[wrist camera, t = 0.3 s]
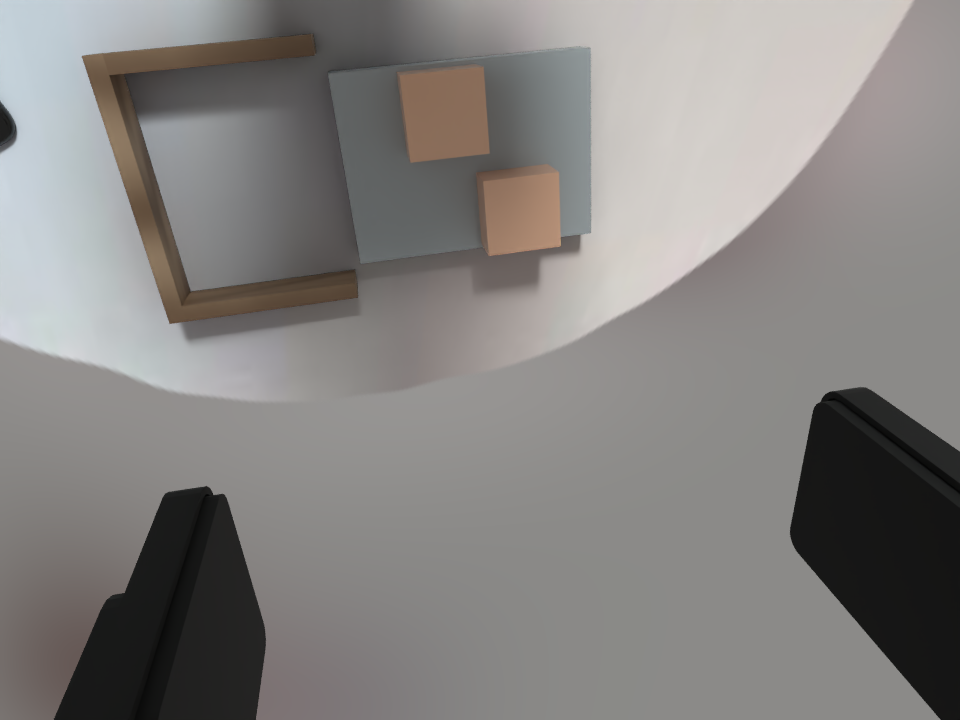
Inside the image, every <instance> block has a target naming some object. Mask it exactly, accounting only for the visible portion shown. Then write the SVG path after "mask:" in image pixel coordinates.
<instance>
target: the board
mask: <svg viewBox="0 0 960 720" xmlns="http://www.w3.org/2000/svg"><path fill="white" fill-rule="evenodd" d="M472 64H477V65H480V66H483V67H484V80H485V94H486V108H487V122H488V136H489V150H490V154H481V155H473V156H464V157H456V158H447V159H439V160H430V161H422V162H413V163H410V160H409V158H408V156H407V151H406V143H405V135H404V127H403V120H402V112H401V104H400V96H399V88H398V80H397V73H396V72H402V71H412V70H422V69H432V68H442V67H452V66H462V65H472ZM328 78H329V84H330V90H331V96H332V101H333V107H334V113H335V119H336V125H337V130H338V136H339V142H340V148H341V154H342V159H343V165H344V171H345V177H346V182H347V188H348V194H349V200H350V206H351V211H352V217H353V223H354V229H355V235H356V240H357V246H358V252H359V258H360V264H364V263H371V262H379V261H386V260H394V259H401V258H409V257H416V256H424V255H431V254H439V253H446V252H454V251H461V250H469V249H476V248H483V245H482V242H481V230H480V218H479V205H478V193H477V181H476V172H485V171H493V170H501V169H510V168H518V167H526V166H535V165H543V164H549V165H550V166H551V167H553V168H554V169H555V170H557V171H558V172H559V191H560V233H561V237H566V236H573V235H581V234H588V233H591V48H588V47H570V48H560V49H550V50H540V51H530V52H520V53H510V54H500V55H490V56H480V57H470V58H460V59H450V60H440V61H430V62H420V63H410V64H400V65H389V66H379V67H369V68H359V69H349V70H339V71H329V72H328Z"/></svg>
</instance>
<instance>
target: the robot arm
mask: <svg viewBox="0 0 960 720" xmlns="http://www.w3.org/2000/svg"><path fill="white" fill-rule="evenodd" d="M790 535H791V540H792V543H793V545H794V548H795V549H796V551H797V552H798V554H800V556H801V557H802V558H803V559H804V561H805V562H806V563H807V564H808V565H809V566H810V567H811V569H812V570H813V571H814V572H815V573H816V575H817V576H818V577H819V578H820V579H821V580H822V582H823V583H824V584H825V585H826V586H827V587H828V589H829V590H830V591H831V592H832V593H833V594H834V596H835V597H836V598H837V599H838V600H839V601H840V603H841V604H842V605H843V606H844V607H845V608H846V609H847V611H848V612H849V613H850V614H851V615H852V617H853V618H854V619H855V620H856V621H857V622H858V624H859V625H860V626H861V627H862V628H863V629H864V631H865V632H866V633H867V634H868V635H869V636H870V638H871V639H872V640H873V641H874V642H875V644H876V645H877V646H878V647H879V648H880V649H881V651H882V652H883V653H884V654H885V655H886V656H887V657H888V659H889V660H890V661H891V662H892V663H893V664H894V666H895V667H896V668H897V669H898V670H899V672H900V673H901V674H902V675H903V676H904V677H905V678H906V680H907V681H908V682H909V683H910V684H911V686H912V687H913V688H914V689H915V690H916V691H917V692H918V694H919V695H920V696H921V697H922V698H923V700H924V701H925V702H926V703H927V704H928V705H929V707H930V708H931V709H932V710H933V711H934V712H935V713H936V715H937V716H938V717H939V718H940V719H941V720H960V452H959V451H958V450H957V449H955V448H954V447H952V446H951V445H949V444H948V443H946V442H945V441H944V440H942V439H940V438H939V437H938V436H936V435H935V434H934V433H932V432H931V431H929V430H928V429H926V428H925V427H923V426H922V425H921V424H919V423H918V422H916V421H915V420H913V419H912V418H910V417H909V416H907V415H906V414H905V413H903V412H902V411H900V410H899V409H897V408H896V407H895V406H893V405H892V404H890V403H889V402H887V401H886V400H884V399H883V398H882V397H880V396H879V395H877V394H876V393H874V392H873V391H871V390H869V389H867V388H864V387H859V388H852V389H846V390H840V391H832V392H829V393H827V394H825V395H824V397H823V398H822V400H821V402H820V403H818V404H816V406H815V407H814V410H813V414H812V419H811V424H810V429H809V434H808V440H807V445H806V450H805V455H804V460H803V465H802V471H801V476H800V481H799V486H798V491H797V497H796V502H795V507H794V512H793V517H792V522H791V527H790ZM265 646H266V638H265V627H264V623H263V619H262V616H261V612H260V609H259V605H258V602H257V599H256V596H255V592H254V589H253V585H252V582H251V578H250V575H249V572H248V568H247V565H246V562H245V558H244V555H243V551H242V548H241V545H240V541H239V538H238V535H237V531H236V528H235V524H234V521H233V517H232V514H231V511H230V507H229V504H228V501H227V498H226V497H225V495H224V494H219V495H213V493H212V491H211V489H210V488H209V487H207V486H205V487H199V488H192V489H185V490H179V491H172V492H168V493H166V494H165V495H164V497H163V498H162V501H161V504H160V506H159V509H158V511H157V513H156V516H155V518H154V521H153V523H152V526H151V528H150V531H149V533H148V536H147V538H146V541H145V543H144V546H143V548H142V551H141V553H140V556H139V558H138V561H137V563H136V566H135V568H134V571H133V574H132V576H131V578H130V581H129V583H128V586H127V588H126V591H125V593H122V594H116V595H112V596H111V597H110V598H109V599H107V600H106V602H105V604H104V605H103V607H102V609H101V611H100V613H99V616H98V618H97V620H96V623H95V625H94V627H93V629H92V632H91V634H90V637H89V639H88V641H87V644H86V646H85V648H84V651H83V653H82V655H81V657H80V660H79V662H78V665H77V667H76V669H75V671H74V674H73V676H72V678H71V681H70V683H69V685H68V688H67V690H66V692H65V695H64V697H63V699H62V702H61V704H60V706H59V709H58V711H57V713H56V716H55V718H54V720H256V714H257V707H258V699H259V692H260V685H261V677H262V670H263V663H264V655H265Z"/></svg>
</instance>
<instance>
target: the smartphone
mask: <svg viewBox="0 0 960 720" xmlns="http://www.w3.org/2000/svg"><path fill="white" fill-rule="evenodd" d="M14 133H15V123H14V120H13V118H12V116H11V115H10V113H9V112H8V110H7V109H6V108H5V107H4V105H3V104H2V103H1V102H0V146H1V145H2V144H4V143H6V142H7V141H9V140H10V139H11V138H12V137H13V135H14Z"/></svg>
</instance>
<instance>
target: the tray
mask: <svg viewBox="0 0 960 720" xmlns="http://www.w3.org/2000/svg"><path fill="white" fill-rule="evenodd" d="M315 54H316V47H315V42H314V36H313V34H306V35H295V36H284V37H273V38H262V39H252V40H241V41H230V42H219V43H208V44H198V45H187V46H176V47H165V48H154V49H144V50H133V51H122V52H111V53H100V54H92V55H85V56H82V58H83V61H84V64H85V67H86V71H87V74H88V77H89V80H90V83H91V86H92V89H93V92H94V95H95V98H96V101H97V104H98V107H99V110H100V113H101V116H102V119H103V122H104V125H105V128H106V131H107V134H108V138H109V141H110V144H111V147H112V150H113V153H114V156H115V159H116V162H117V165H118V168H119V171H120V174H121V177H122V180H123V183H124V186H125V189H126V192H127V195H128V198H129V202H130V205H131V208H132V211H133V214H134V217H135V220H136V223H137V226H138V229H139V232H140V235H141V238H142V241H143V244H144V247H145V250H146V253H147V256H148V259H149V262H150V265H151V269H152V272H153V275H154V278H155V281H156V284H157V287H158V290H159V293H160V296H161V299H162V302H163V305H164V308H165V311H166V314H167V317H168V320H169V323H170V324H172V323H179V322H186V321H194V320H201V319H208V318H215V317H222V316H229V315H236V314H244V313H251V312H258V311H265V310H272V309H279V308H287V307H294V306H301V305H308V304H315V303H322V302H329V301H337V300H344V299H351V298H358V285H357V278H356V273H355V270H348V271H341V272H333V273H326V274H319V275H311V276H304V277H296V278H289V279H282V280H274V281H267V282H259V283H252V284H244V285H237V286H230V287H222V288H215V289H207V290H200V291H192V292H190V289H189V286H188V282H187V279H186V276H185V272H184V269H183V266H182V263H181V259H180V256H179V253H178V249H177V246H176V243H175V240H174V236H173V233H172V230H171V227H170V223H169V220H168V217H167V213H166V210H165V207H164V204H163V200H162V197H161V194H160V190H159V187H158V184H157V181H156V177H155V174H154V171H153V167H152V164H151V161H150V158H149V154H148V151H147V148H146V144H145V141H144V138H143V135H142V131H141V128H140V125H139V122H138V118H137V115H136V112H135V108H134V105H133V102H132V99H131V95H130V92H129V89H128V85H127V82H126V79H125V76H124V74H127V73H137V72H148V71H158V70H168V69H179V68H189V67H200V66H210V65H220V64H231V63H241V62H251V61H262V60H272V59H282V58H293V57H303V56H314V55H315Z"/></svg>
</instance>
